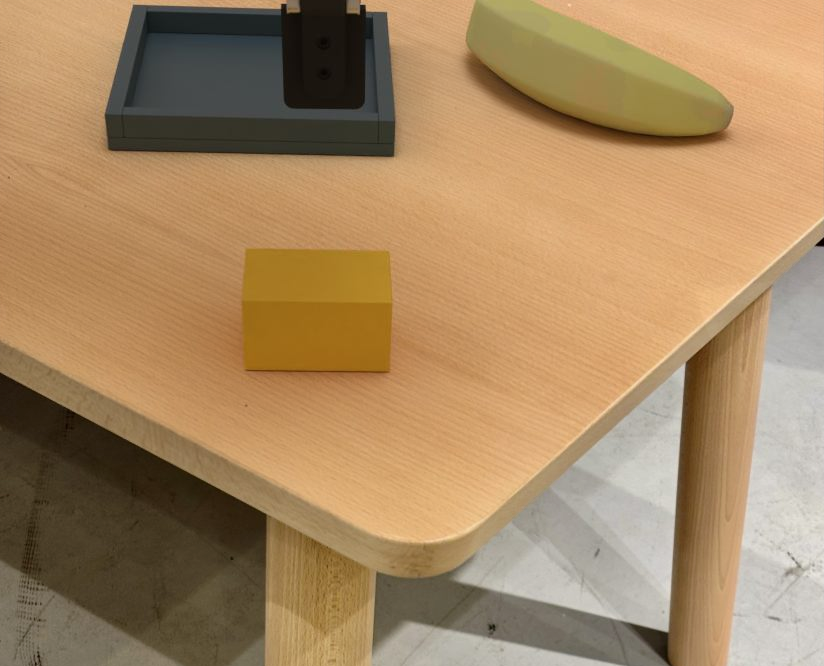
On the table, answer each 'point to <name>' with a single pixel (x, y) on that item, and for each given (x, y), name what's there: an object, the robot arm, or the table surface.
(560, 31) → the banana
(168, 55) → the tray
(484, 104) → the table surface
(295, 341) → the yellow block
